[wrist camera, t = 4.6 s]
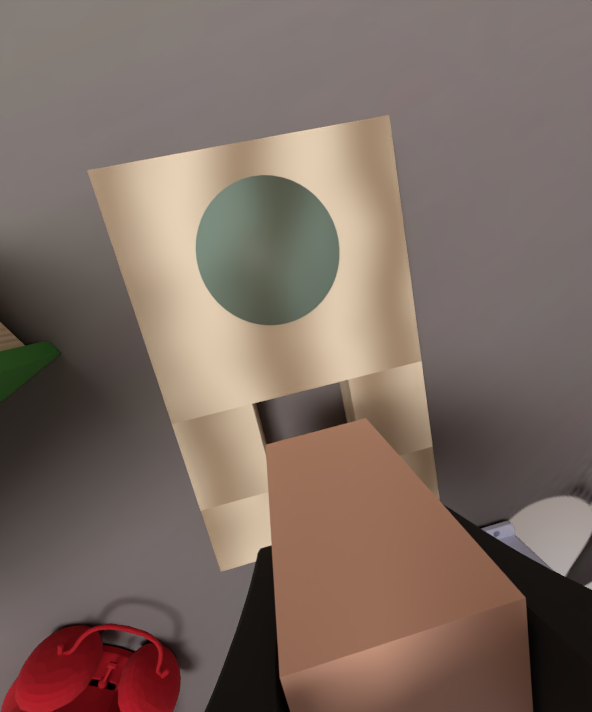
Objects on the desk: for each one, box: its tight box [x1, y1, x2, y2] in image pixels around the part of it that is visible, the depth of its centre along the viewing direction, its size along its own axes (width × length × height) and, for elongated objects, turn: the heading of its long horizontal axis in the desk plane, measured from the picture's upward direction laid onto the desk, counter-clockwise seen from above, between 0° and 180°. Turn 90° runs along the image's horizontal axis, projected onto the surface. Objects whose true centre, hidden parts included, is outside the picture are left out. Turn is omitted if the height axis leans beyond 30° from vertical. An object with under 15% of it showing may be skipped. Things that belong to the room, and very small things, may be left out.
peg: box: [266, 418, 533, 712], centre depth 10 cm, size 4×4×8 cm
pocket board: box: [87, 115, 440, 572], centre depth 18 cm, size 14×22×3 cm, turn 12°
